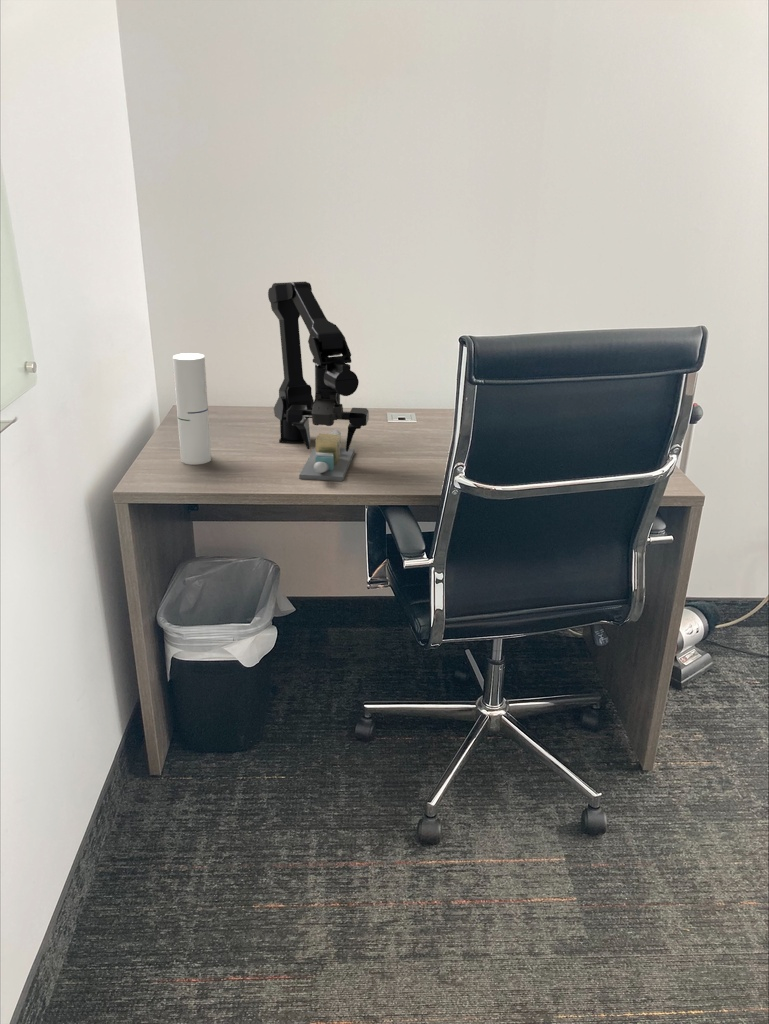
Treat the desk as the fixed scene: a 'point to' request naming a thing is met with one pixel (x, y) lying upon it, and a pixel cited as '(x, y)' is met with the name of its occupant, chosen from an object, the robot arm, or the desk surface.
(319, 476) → the coupling stand
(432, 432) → the desk surface
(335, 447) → the block
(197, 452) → the cylindrical container
